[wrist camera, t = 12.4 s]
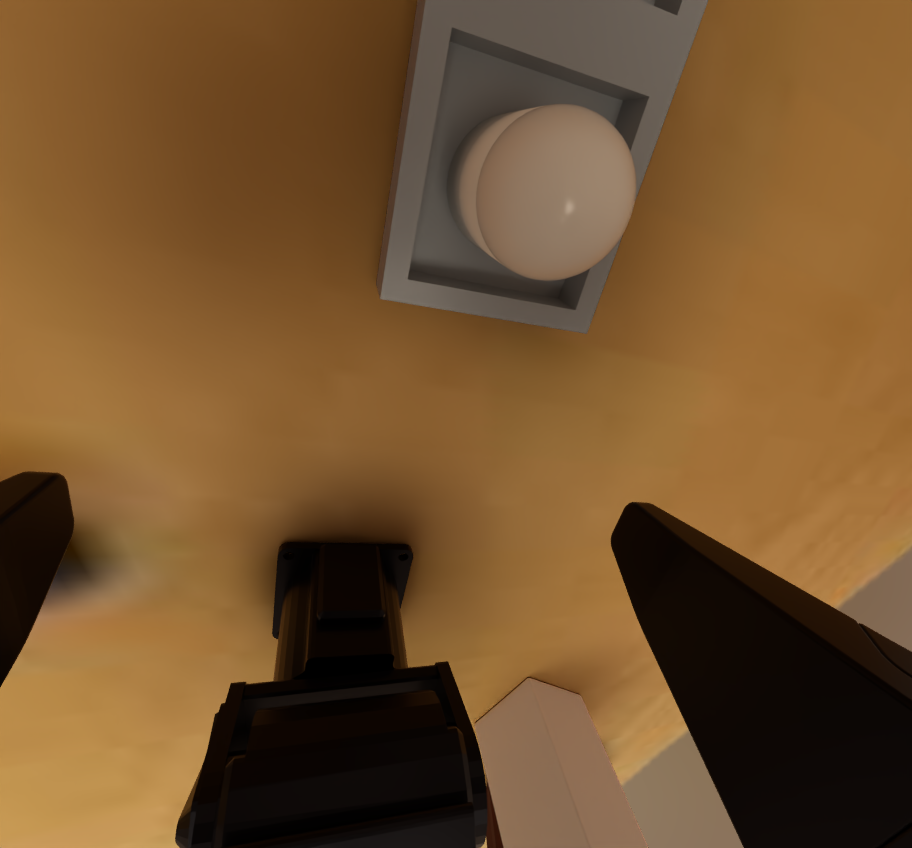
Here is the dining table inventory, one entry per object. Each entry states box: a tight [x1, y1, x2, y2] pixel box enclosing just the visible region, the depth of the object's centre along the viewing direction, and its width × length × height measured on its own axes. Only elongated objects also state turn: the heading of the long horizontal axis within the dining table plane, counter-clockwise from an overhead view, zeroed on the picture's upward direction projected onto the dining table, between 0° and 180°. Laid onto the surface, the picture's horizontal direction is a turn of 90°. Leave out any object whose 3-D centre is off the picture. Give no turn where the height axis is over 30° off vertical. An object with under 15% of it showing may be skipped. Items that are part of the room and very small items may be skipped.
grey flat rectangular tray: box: [376, 0, 708, 334], centre depth 14 cm, size 17×8×2 cm, turn 167°
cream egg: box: [447, 104, 636, 281], centre depth 14 cm, size 4×4×6 cm
